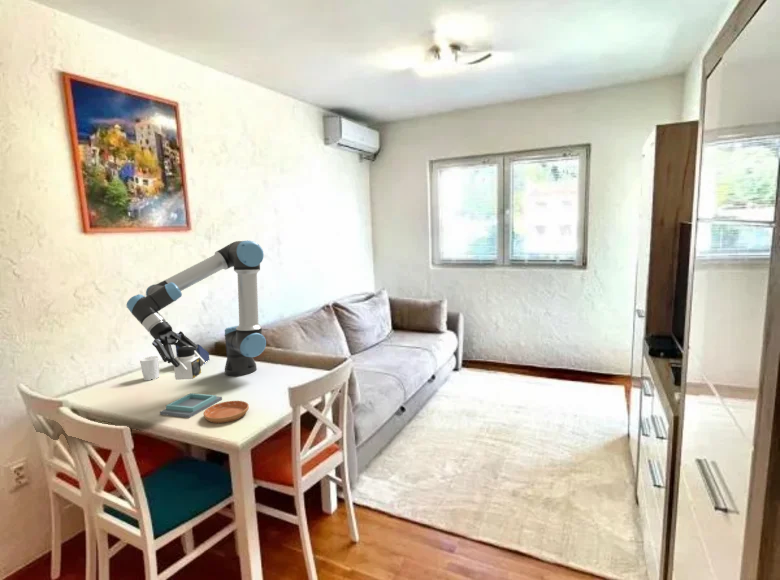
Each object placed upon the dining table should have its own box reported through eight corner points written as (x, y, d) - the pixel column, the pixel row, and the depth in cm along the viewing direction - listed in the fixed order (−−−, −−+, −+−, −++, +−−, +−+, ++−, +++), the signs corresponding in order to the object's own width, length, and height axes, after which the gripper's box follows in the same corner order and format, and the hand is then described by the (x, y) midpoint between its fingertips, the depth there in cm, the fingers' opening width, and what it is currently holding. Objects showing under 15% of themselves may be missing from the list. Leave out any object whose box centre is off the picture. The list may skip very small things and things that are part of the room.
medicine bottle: (193, 379, 168) (190, 349, 166) (175, 379, 168) (171, 349, 166) (201, 373, 175) (198, 344, 173) (184, 373, 175) (180, 345, 173)
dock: (194, 397, 183) (194, 391, 183) (222, 399, 179) (221, 393, 179) (160, 414, 167) (159, 407, 166) (189, 417, 162) (188, 410, 162)
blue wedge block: (209, 359, 240) (207, 338, 239) (201, 366, 229) (198, 344, 227) (187, 361, 240) (185, 340, 238) (178, 367, 228) (175, 345, 226)
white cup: (164, 375, 216) (161, 356, 215) (154, 380, 208) (151, 360, 207) (149, 375, 217) (146, 356, 215) (138, 381, 209) (136, 361, 208)
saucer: (217, 429, 151) (216, 421, 151) (196, 418, 162) (195, 411, 161) (257, 413, 163) (256, 406, 163) (235, 404, 174) (234, 397, 173)
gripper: (174, 327, 184) (208, 365, 181) (130, 339, 164) (168, 383, 161) (182, 315, 181) (217, 353, 179) (139, 326, 161) (177, 370, 158)
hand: (194, 367), depth 170 cm, fingers closed on medicine bottle, 9 cm apart
